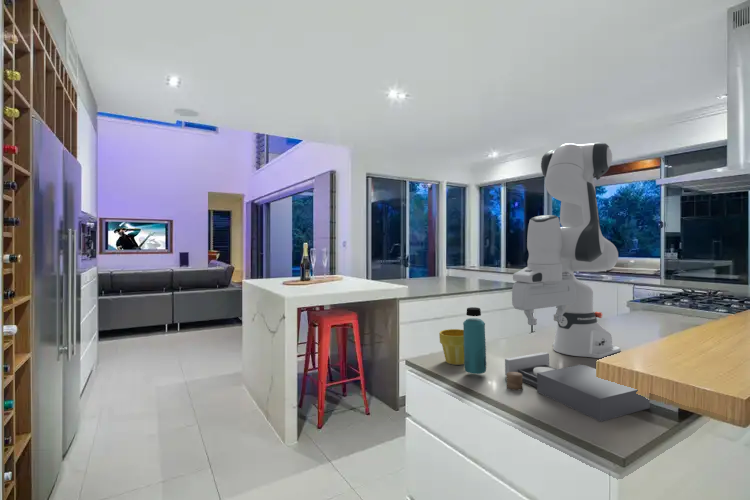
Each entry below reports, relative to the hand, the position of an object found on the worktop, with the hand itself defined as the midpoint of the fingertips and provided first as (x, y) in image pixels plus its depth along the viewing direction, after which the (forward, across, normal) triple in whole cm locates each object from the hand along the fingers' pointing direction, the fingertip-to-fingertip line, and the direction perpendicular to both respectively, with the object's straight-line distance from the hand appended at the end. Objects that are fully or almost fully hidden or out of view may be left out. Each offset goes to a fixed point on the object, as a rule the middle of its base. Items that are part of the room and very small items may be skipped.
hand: (545, 322), depth 108 cm
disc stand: (+16, +11, 0) cm, 20 cm away
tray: (+16, 0, +2) cm, 16 cm away
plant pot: (+16, +13, -25) cm, 33 cm away
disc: (+15, 0, 0) cm, 15 cm away
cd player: (+16, 0, +14) cm, 22 cm away
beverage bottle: (+16, +15, -12) cm, 25 cm away
